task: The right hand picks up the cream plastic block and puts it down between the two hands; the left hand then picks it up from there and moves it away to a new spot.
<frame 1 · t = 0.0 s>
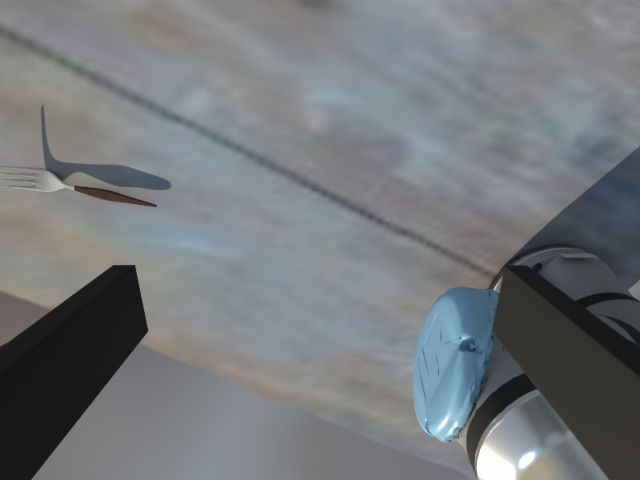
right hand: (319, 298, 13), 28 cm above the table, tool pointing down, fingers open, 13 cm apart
fork: (89, 189, 39), on the table
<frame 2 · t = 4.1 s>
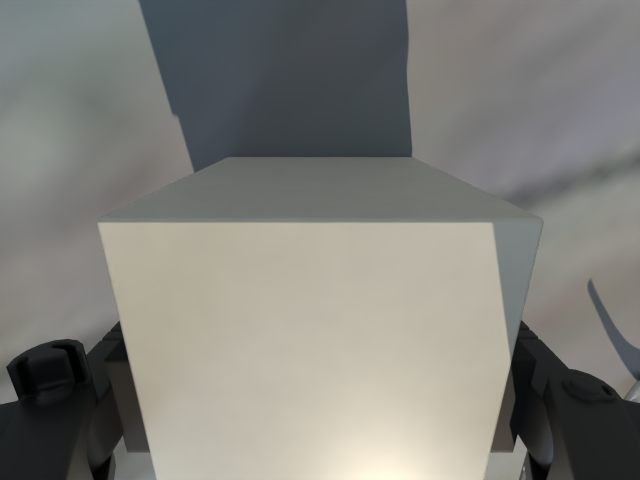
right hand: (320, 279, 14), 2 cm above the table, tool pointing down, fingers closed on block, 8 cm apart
block: (320, 258, 16), on the table, touching right hand
when the right hand's fingers open (4 cm above the table, at t = 12.7 s): block drops 2 cm, on the table.
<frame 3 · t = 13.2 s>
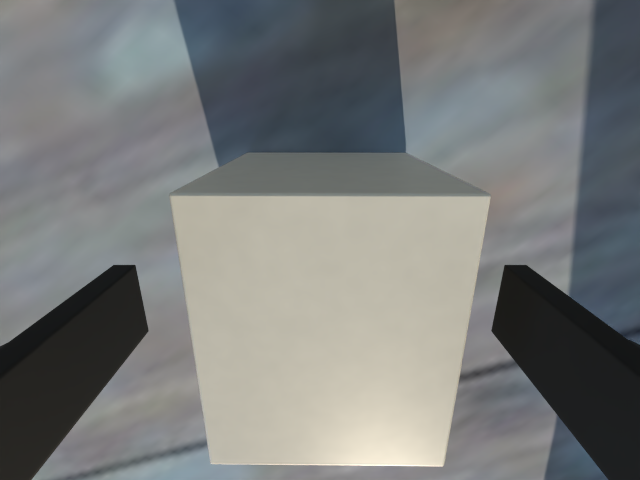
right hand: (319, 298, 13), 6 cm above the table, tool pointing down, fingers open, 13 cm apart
block: (325, 241, 18), on the table
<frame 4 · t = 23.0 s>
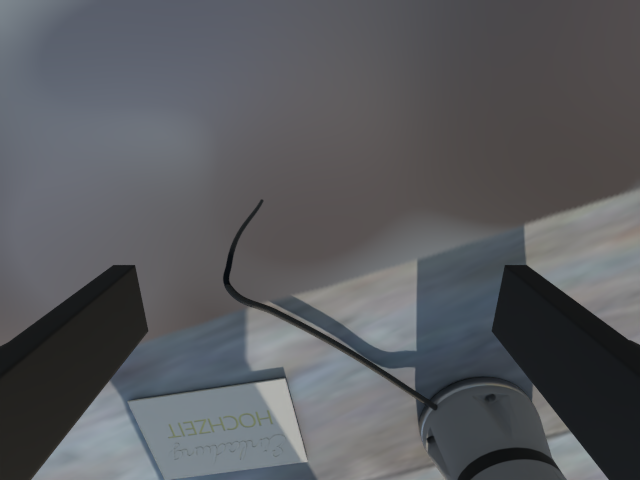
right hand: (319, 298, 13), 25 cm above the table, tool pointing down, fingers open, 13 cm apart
invitation card: (221, 430, 48), on the table
when the left hand's fingers open (4 cm above the table, at t = 28.9 s): block drops 2 cm, on the table.
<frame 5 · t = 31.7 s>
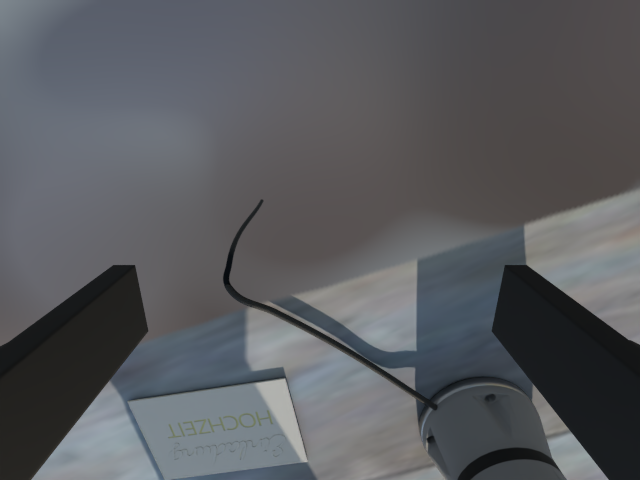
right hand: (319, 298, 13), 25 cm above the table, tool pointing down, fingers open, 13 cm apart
invitation card: (221, 430, 48), on the table
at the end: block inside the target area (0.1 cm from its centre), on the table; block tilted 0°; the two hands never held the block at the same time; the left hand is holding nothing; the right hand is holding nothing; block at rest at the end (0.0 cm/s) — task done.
